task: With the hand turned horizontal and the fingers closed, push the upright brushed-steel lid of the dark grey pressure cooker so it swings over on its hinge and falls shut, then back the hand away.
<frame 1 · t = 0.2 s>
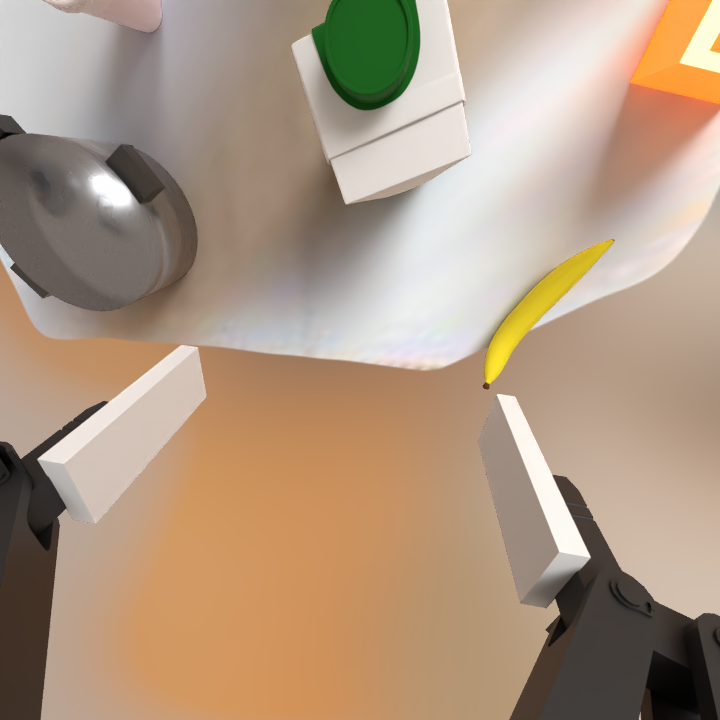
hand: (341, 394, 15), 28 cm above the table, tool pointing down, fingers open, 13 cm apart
cooker: (132, 221, 40), on the table
milk carton: (392, 137, 33), on the table
banana: (524, 304, 40), on the table
orange juice: (706, 37, 27), on the table
smoothie: (143, 6, 30), on the table
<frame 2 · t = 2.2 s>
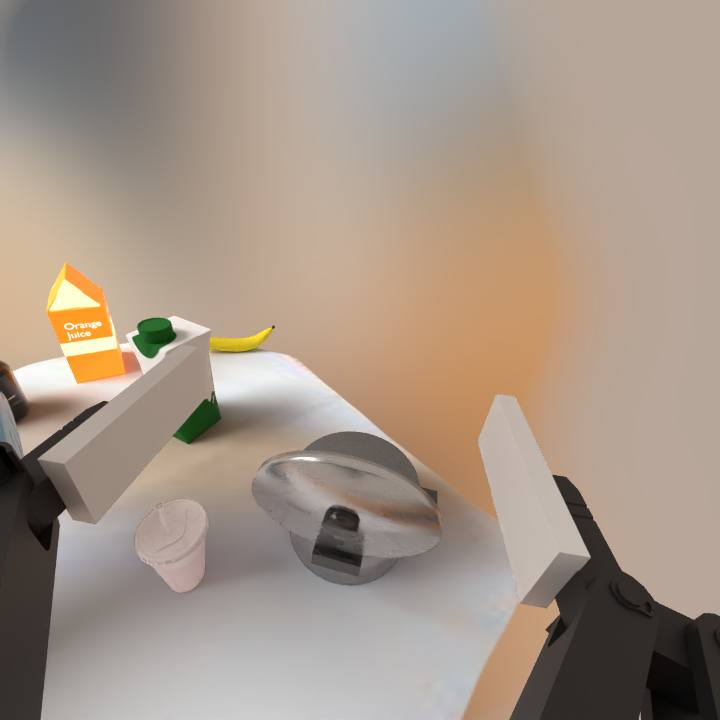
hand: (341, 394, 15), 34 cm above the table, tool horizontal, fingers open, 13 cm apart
cooker: (348, 520, 45), on the table
milk carton: (190, 423, 57), on the table
supplement bottle: (3, 417, 53), on the table
lid: (342, 517, 27), point 17 cm above the table, hinge at 100.0°
banana: (233, 352, 77), on the table
orange juice: (101, 367, 66), on the table
smoothie: (187, 575, 38), on the table
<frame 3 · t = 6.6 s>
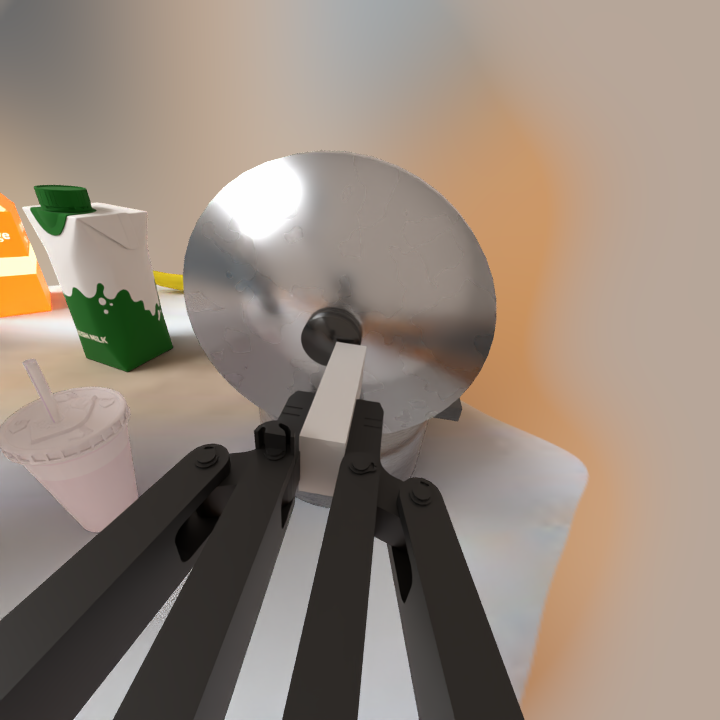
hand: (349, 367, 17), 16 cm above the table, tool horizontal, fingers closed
cooker: (341, 439, 34), on the table
milk carton: (132, 354, 44), on the table
lid: (334, 332, 17), point 17 cm above the table, hinge at 95.6°, touching gripper
banana: (192, 292, 65), on the table
orange juice: (20, 306, 53), on the table
smoothie: (111, 510, 26), on the table
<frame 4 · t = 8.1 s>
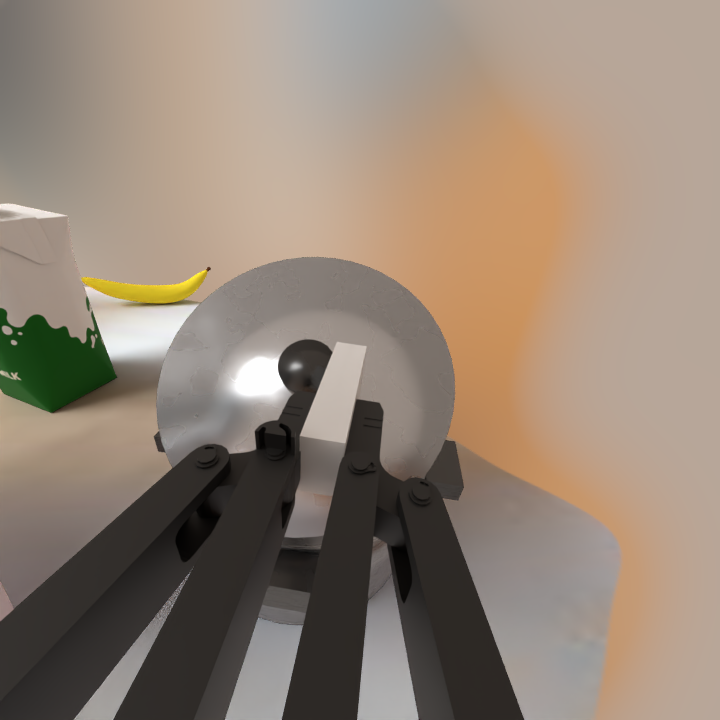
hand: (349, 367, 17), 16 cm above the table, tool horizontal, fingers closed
cooker: (310, 507, 27), on the table
milk carton: (65, 386, 37), on the table
lid: (309, 372, 18), point 15 cm above the table, hinge at 34.8°, touching gripper
banana: (155, 305, 57), on the table
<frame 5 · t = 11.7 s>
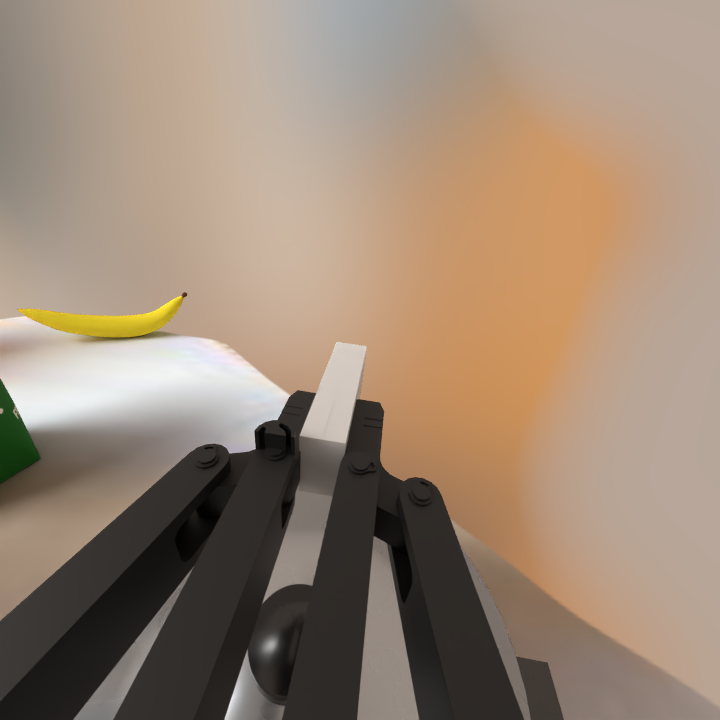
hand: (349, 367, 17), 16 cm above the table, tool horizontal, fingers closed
lid: (294, 645, 11), point 10 cm above the table, hinge at -0.1°
banana: (120, 338, 47), on the table
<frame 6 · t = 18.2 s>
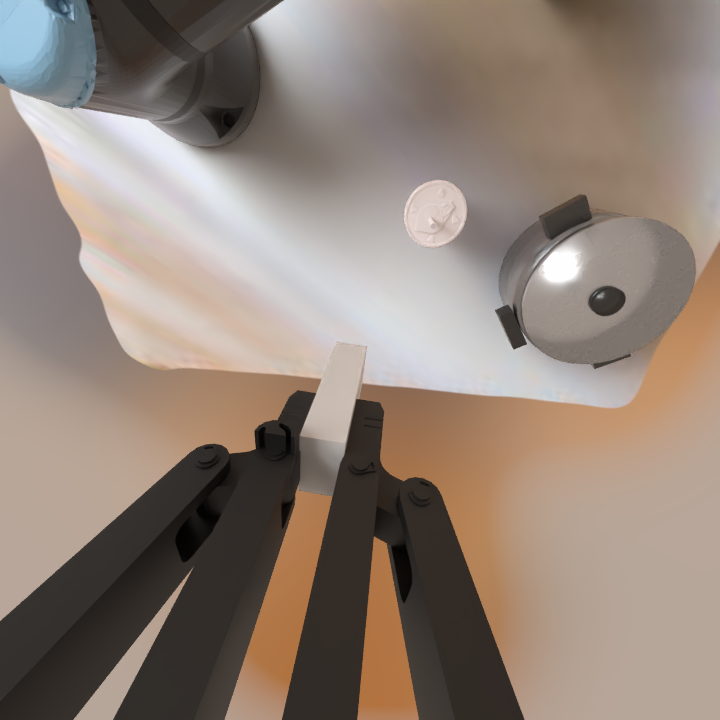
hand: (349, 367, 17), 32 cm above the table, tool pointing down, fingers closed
cooker: (562, 273, 44), on the table
lid: (604, 299, 35), point 10 cm above the table, hinge at -0.1°
smoothie: (429, 205, 42), on the table
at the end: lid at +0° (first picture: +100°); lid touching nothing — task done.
